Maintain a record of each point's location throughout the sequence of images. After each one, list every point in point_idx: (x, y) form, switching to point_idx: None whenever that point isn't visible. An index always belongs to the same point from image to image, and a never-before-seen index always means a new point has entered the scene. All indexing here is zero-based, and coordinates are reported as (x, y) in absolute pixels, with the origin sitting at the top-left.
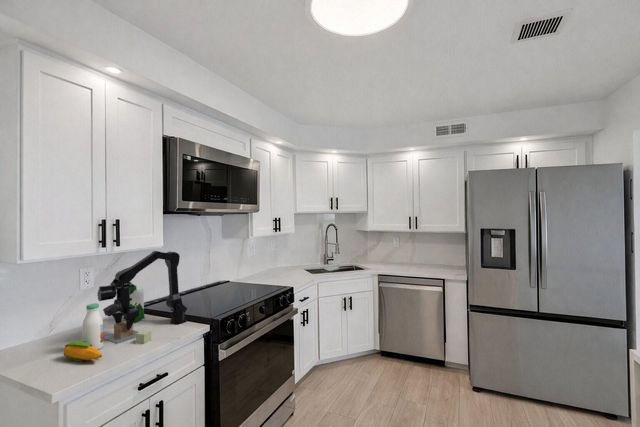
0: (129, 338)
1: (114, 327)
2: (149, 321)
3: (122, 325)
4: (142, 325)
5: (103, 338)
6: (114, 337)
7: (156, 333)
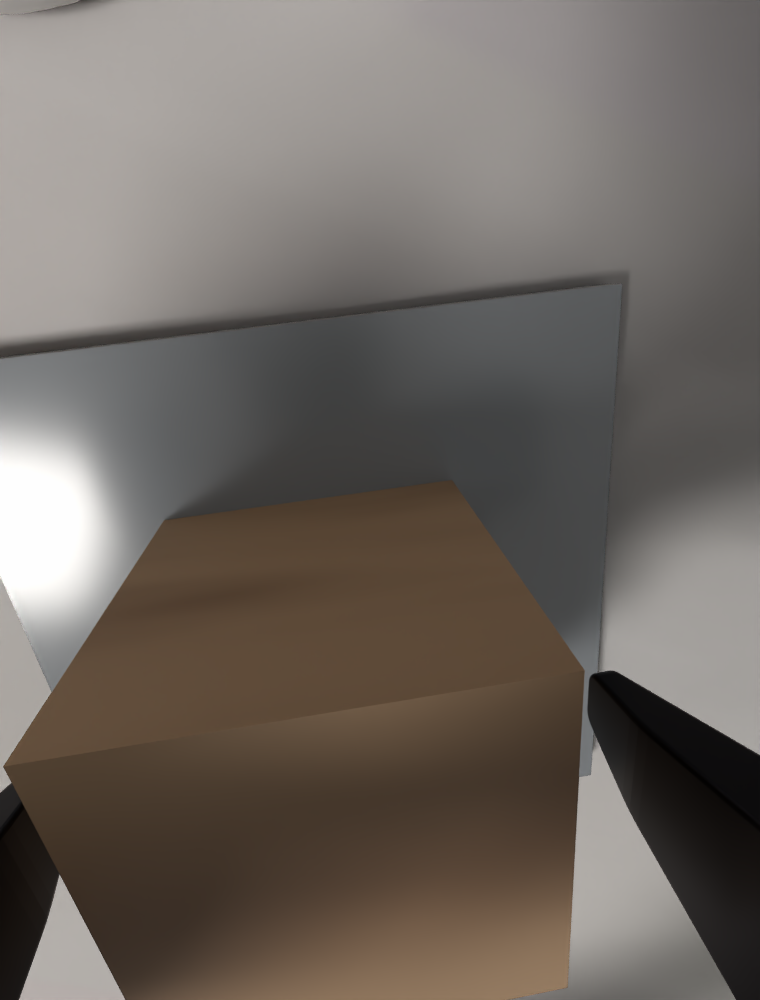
0: (28, 636)
1: (489, 596)
2: (672, 983)
3: (56, 829)
4: (607, 907)
5: (569, 288)
6: (359, 459)
7: (49, 947)
